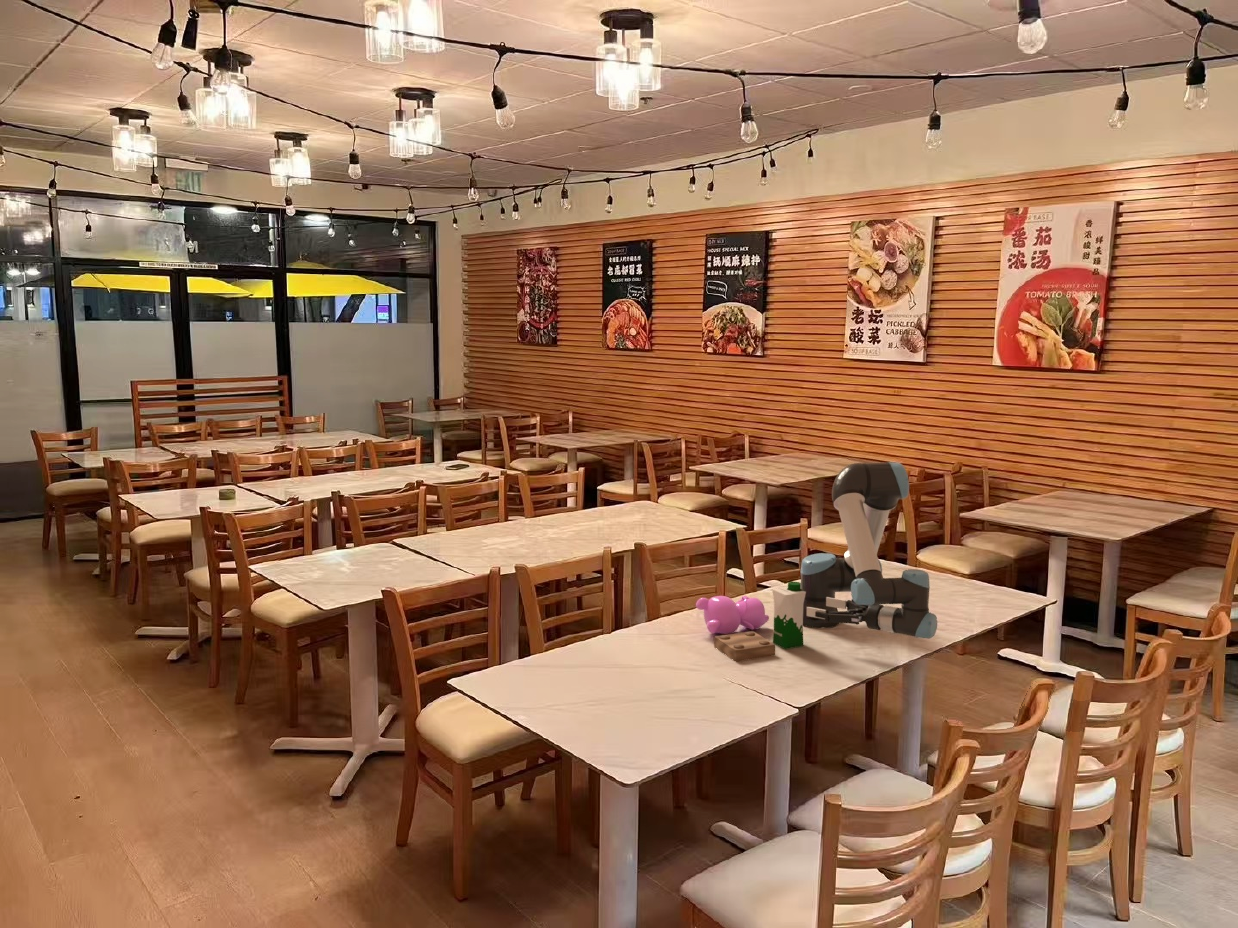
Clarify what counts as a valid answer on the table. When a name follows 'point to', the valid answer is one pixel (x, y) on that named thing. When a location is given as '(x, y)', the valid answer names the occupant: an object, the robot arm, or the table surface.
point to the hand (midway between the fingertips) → (816, 606)
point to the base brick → (744, 646)
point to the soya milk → (788, 615)
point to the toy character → (732, 613)
